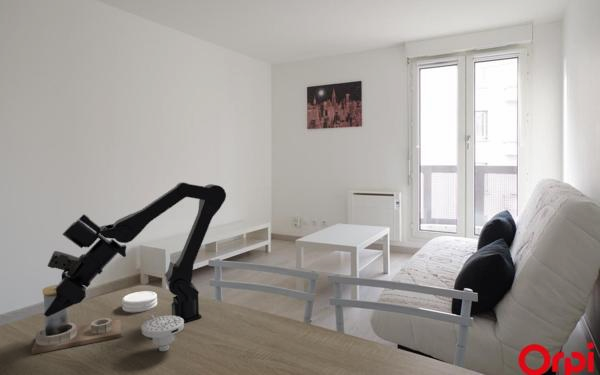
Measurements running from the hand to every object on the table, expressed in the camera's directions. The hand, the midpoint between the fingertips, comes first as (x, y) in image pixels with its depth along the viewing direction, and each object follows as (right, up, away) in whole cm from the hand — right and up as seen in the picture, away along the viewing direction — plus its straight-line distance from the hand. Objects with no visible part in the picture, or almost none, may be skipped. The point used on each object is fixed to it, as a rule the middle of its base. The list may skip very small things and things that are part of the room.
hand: (48, 309), depth 97 cm
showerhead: (+30, -9, -3) cm, 31 cm away
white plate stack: (+13, -7, +24) cm, 28 cm away
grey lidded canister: (+2, -7, +1) cm, 8 cm away
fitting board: (+6, -8, +3) cm, 11 cm away
